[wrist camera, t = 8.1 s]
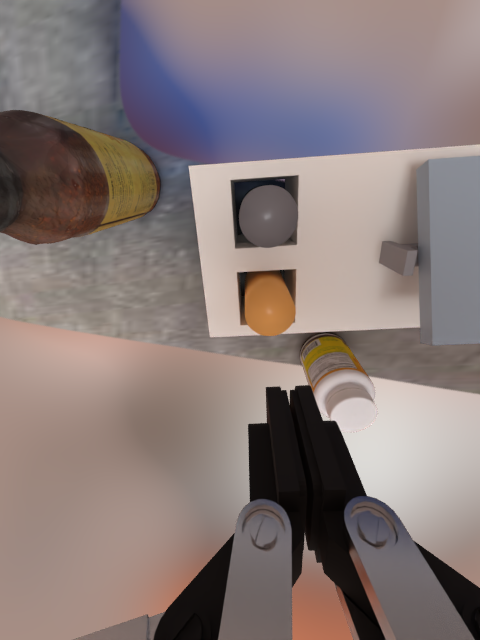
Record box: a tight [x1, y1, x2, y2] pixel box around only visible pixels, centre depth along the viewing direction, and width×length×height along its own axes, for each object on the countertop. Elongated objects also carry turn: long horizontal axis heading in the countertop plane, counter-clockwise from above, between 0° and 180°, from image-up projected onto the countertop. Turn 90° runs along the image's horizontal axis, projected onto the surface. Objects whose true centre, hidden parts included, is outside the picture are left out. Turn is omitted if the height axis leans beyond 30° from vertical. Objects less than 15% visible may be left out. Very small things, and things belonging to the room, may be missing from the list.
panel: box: [189, 144, 480, 337], centre depth 22 cm, size 24×13×10 cm, turn 94°
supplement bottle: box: [300, 333, 377, 432], centre depth 28 cm, size 6×6×10 cm
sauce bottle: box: [0, 110, 160, 245], centre depth 16 cm, size 7×6×20 cm
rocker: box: [414, 156, 480, 346], centre depth 17 cm, size 6×11×2 cm, turn 4°
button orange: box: [245, 270, 296, 336], centre depth 23 cm, size 4×4×8 cm
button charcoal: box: [239, 185, 298, 248], centre depth 20 cm, size 4×4×8 cm
